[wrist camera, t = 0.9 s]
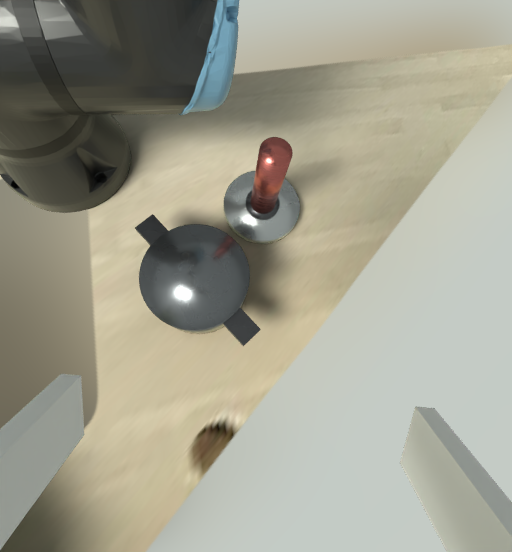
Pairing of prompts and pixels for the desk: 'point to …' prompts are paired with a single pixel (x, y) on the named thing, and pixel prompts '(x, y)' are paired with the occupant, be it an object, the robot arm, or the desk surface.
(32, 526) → the desk surface
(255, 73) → the desk surface
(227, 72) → the robot arm
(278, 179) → the lid
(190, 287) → the pot
